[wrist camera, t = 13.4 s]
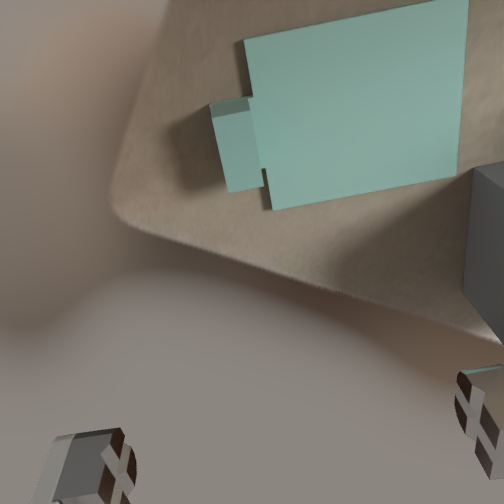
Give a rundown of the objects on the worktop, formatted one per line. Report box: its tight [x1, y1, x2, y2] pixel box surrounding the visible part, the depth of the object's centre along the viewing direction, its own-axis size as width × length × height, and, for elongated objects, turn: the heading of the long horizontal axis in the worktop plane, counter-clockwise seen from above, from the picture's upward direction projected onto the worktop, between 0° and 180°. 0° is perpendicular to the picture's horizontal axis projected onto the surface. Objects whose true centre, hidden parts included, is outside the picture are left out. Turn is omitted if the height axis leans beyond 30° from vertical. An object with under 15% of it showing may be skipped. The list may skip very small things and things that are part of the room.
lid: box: [209, 0, 469, 211], centre depth 29 cm, size 12×17×4 cm
